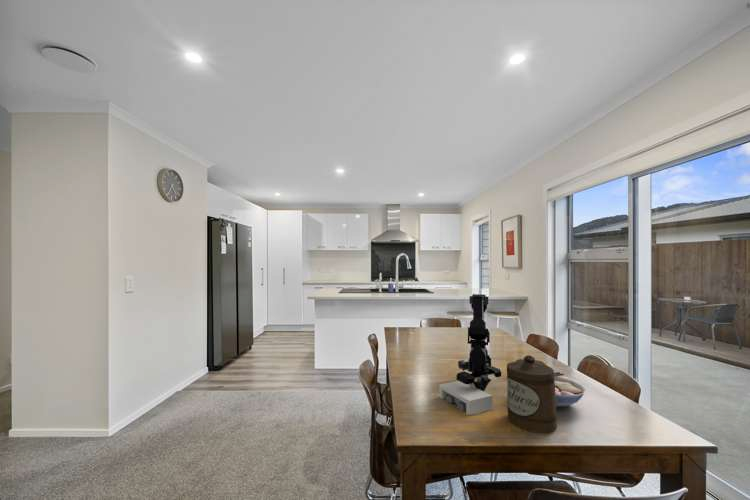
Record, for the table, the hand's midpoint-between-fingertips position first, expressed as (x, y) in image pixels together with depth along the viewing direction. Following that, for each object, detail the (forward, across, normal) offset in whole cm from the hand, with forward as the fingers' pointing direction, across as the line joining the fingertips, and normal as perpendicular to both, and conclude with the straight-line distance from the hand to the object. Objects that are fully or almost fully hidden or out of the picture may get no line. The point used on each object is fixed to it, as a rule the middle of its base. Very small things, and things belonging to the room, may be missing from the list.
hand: (479, 396), depth 123 cm
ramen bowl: (+2, -23, +14) cm, 27 cm away
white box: (+1, +8, 0) cm, 8 cm away
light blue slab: (+1, +6, 0) cm, 6 cm away
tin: (+2, -41, -9) cm, 42 cm away
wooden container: (+2, -3, +21) cm, 21 cm away
